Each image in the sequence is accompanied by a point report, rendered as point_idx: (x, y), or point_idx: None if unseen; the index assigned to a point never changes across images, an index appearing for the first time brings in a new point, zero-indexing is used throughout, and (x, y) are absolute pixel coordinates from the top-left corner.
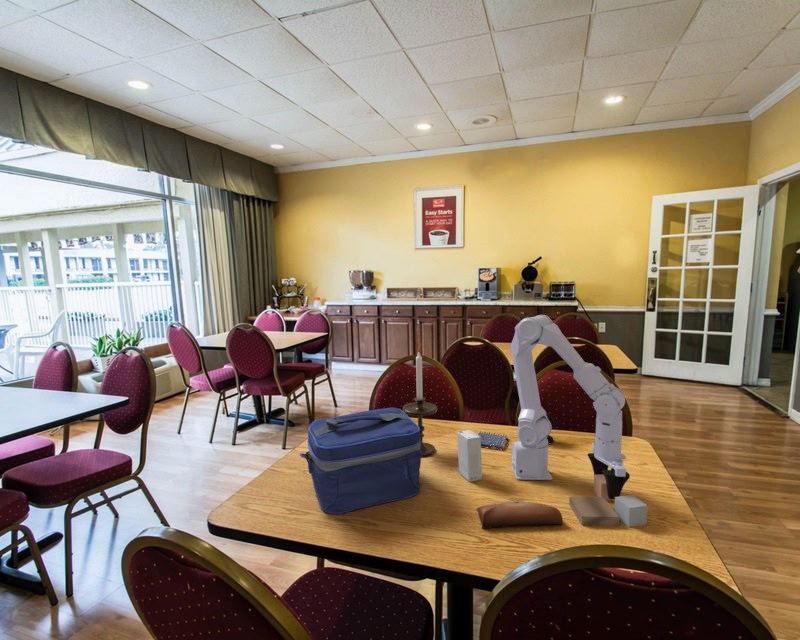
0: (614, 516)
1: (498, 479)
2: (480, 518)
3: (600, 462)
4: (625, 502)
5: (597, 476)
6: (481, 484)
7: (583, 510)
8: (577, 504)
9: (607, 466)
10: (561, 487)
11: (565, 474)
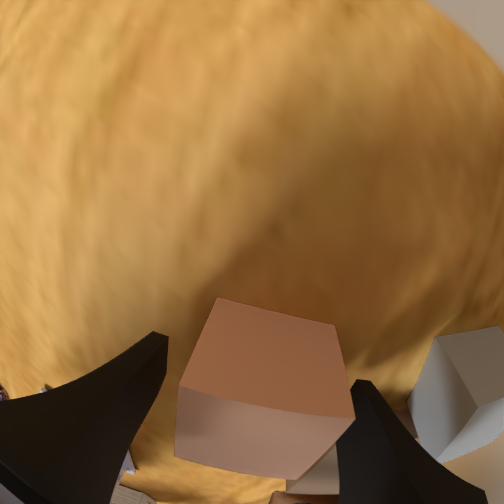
0: None
1: (138, 482)
2: None
3: (100, 477)
4: (474, 445)
5: (205, 461)
6: (163, 499)
7: None
8: (335, 491)
9: (102, 420)
10: (169, 439)
11: (69, 370)
